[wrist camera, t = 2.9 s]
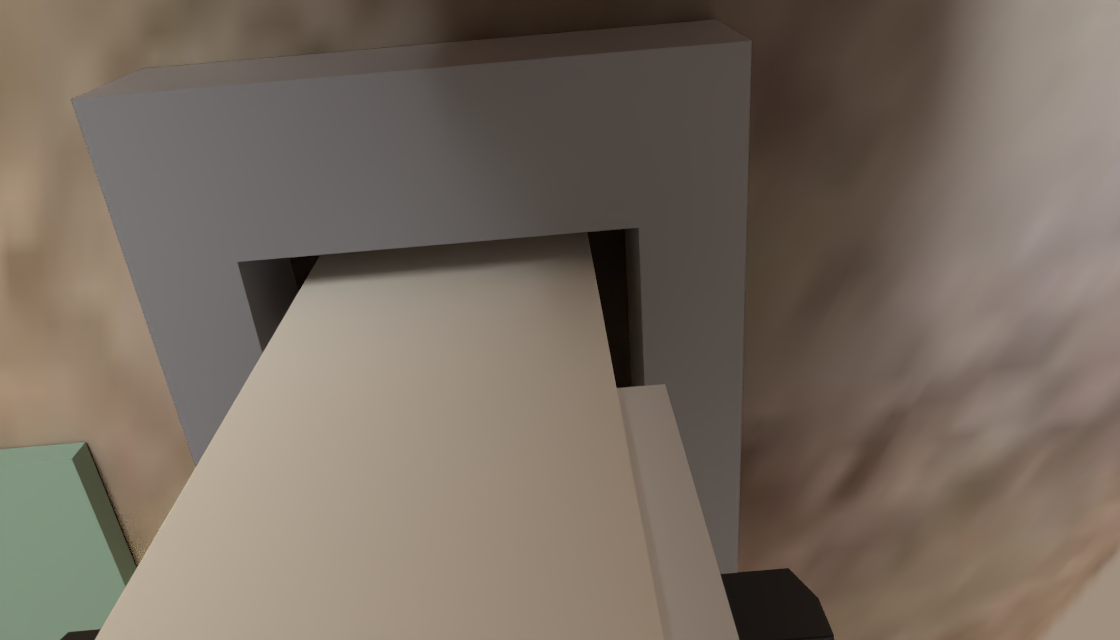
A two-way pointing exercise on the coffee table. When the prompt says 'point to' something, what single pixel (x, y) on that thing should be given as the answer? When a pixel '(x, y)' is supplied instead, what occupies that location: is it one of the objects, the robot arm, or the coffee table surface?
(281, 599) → the plug
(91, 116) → the grey square frame
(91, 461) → the mat
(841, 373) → the coffee table surface
